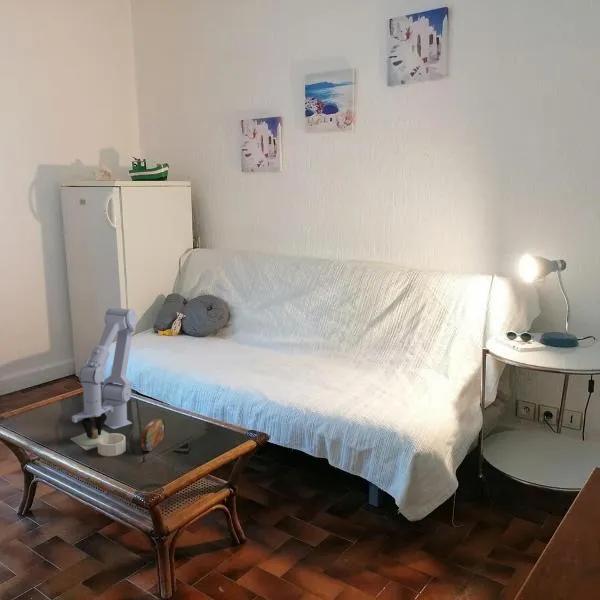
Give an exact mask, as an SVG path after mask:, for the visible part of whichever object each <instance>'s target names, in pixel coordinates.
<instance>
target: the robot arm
mask: <svg viewBox="0 0 600 600" xmlns="http://www.w3.org/2000/svg"><path fill="white" fill-rule="evenodd" d="M137 320H138V315H137V313H136V311H135V310H134V309H131V308H129V309H127V308H120V307H114V306H110V307H108V308H107V309H106V311H105V315H104V324H105V327H104V329H103V331H102V334H101V338H100V341H99V343H98V345H97V346H94V348H93V349H92V352H91V354H90V356H89V359H88V361H87V363H86V365H84V366H83V367H82V368H80V371H79V375H78V380H79V381H80V383H81V387H82V390H83V391H82V392H83V411H81V412H78V413H77V414H74V415H72V416H71V422H73V423H74V424H76V423H78V422H80V423H81V424H82V426H83V428H84V430H85V433H86V434H87V437H89V438H92V428H93V421H92V420H91V418H94V422H95V427H96V428H98V435H101V431H102V430H103V427H104V425H105V426H107V427H108V428H110V429H112V430H115V429H119V428H121V427H125V426H129V425H131V424H133V423H132V422H131V421H130V420H128V406H127V404H128V401H129V400H130V399H131V396H132V382H131V381H130V380H129V379H128V377H127V376H126V375H127V368H128V362H129V357H130V350H131V343H132V337H133V333H134V332H136V331H135V330H136V326H137ZM115 337H116V343H115V349H114V354H113V362H112V367H111V373H110V375H109V376H107V377H106V378H105V379H104V377H105V369H106V368H105V366H106V363H107V361H108V359H109V356H110V350H109V349H110V346H111V345H112V342H113V341H114V339H115ZM103 380H104V381H103ZM102 382H103V384H102V387H101V383H102ZM102 400H104V401H102ZM102 402H103V403H102Z"/></svg>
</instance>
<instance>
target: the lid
mask: <svg viewBox="0 0 600 600" xmlns="http://www.w3.org/2000/svg"><path fill="white" fill-rule="evenodd" d="M104 431H105V430H104ZM104 431H101V435H98V428H96V426H95V427H92V438H89V437H87V434H86V432H84V433H82V434H80V435H78V436H79V437H78V439H77V442H78V443H79V444H80V445H83V446H97V445H98V438H100V437H101V436H103V435H106V434H110V433H109V432H108V431H105V432H104Z"/></svg>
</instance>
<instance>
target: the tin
mask: <svg viewBox="0 0 600 600" xmlns="http://www.w3.org/2000/svg"><path fill="white" fill-rule="evenodd" d="M164 420H165V419H163V418H153V419H152V420H151V421H150V422H148V424H146V425H145V427H143V429H142V430H141V433H140V436H139V437H140V438H139V440H140V448H141V450H142V451H144V452H152V451H153V450H154V448H155V447H156V446H157V445H158V444H159V443H161V441H162V440H164V436H165V433H166V424H165V421H164Z"/></svg>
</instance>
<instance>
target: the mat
mask: <svg viewBox="0 0 600 600" xmlns="http://www.w3.org/2000/svg"><path fill="white" fill-rule="evenodd" d="M102 431H104V432H106V430H103V429H102ZM79 436H80V435H77V436H73V437H71V438H69V440H71V441H72V442H73V443H75V444H77V446H80V447H81V448H82V449H84V450H85V451H88V450H92V449H95V448H98V445H97V446H83V445H80V444H79V443H78V442H77V439H78V437H79Z"/></svg>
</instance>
